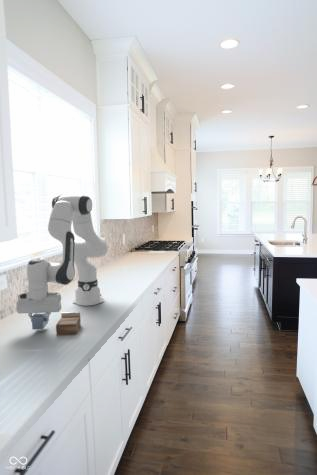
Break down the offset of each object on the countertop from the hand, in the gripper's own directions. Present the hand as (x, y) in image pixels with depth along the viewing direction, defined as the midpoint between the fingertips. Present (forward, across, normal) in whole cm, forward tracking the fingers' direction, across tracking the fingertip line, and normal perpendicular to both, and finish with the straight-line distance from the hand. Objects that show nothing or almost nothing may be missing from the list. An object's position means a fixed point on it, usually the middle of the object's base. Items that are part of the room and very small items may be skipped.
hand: (40, 321), depth 159 cm
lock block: (+2, 0, 0) cm, 2 cm away
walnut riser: (+5, -14, 0) cm, 14 cm away
